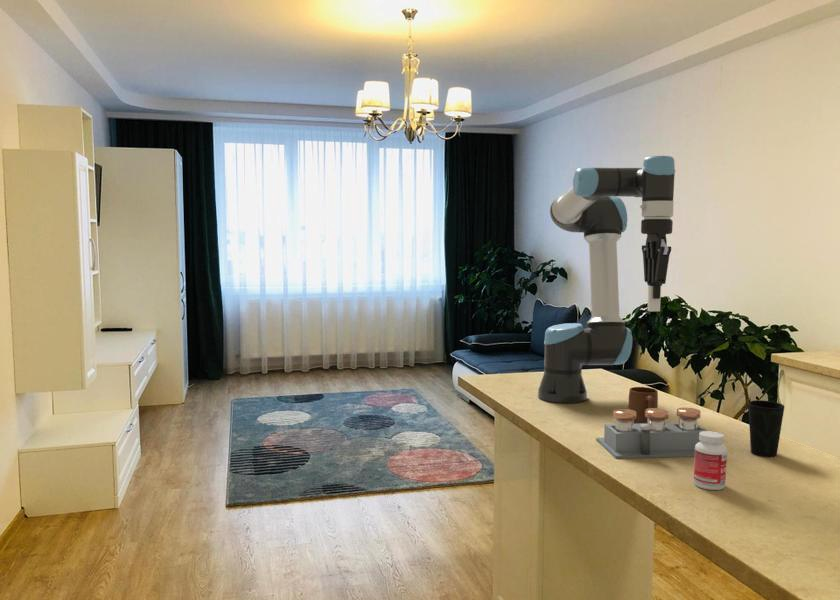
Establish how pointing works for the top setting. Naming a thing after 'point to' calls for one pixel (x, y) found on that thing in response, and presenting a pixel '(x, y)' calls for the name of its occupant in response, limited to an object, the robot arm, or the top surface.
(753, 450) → the cup
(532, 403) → the top surface
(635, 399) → the mug
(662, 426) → the knob mid
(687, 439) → the mount
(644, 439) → the pot post
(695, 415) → the knob
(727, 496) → the top surface
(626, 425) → the knob
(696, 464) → the pill bottle
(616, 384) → the top surface
